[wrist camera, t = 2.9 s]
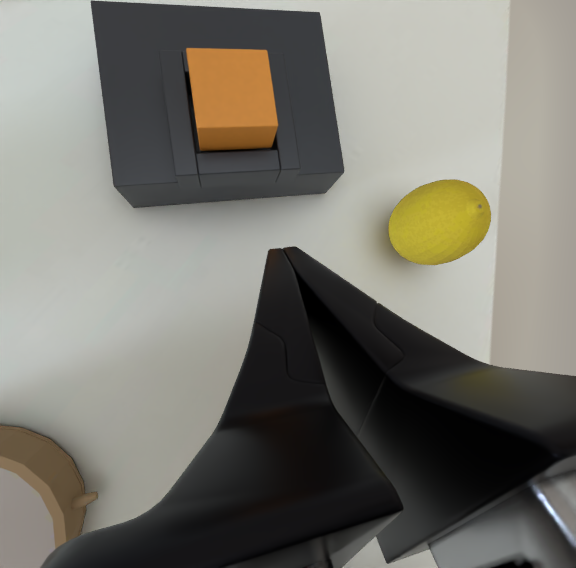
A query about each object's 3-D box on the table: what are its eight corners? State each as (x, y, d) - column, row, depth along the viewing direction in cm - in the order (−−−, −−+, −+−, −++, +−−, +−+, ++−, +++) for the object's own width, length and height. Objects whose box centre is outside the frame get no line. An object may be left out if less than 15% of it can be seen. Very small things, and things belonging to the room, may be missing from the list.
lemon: (415, 194, 26) (498, 146, 18) (441, 255, 26) (534, 234, 18) (359, 217, 25) (422, 177, 17) (387, 281, 25) (461, 270, 17)
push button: (326, 199, 24) (358, 165, 19) (134, 214, 21) (100, 180, 16) (305, 58, 25) (330, -19, 19) (113, 54, 22) (73, -38, 16)
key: (271, 148, 18) (278, 125, 16) (200, 151, 17) (196, 127, 15) (262, 81, 18) (267, 48, 16) (190, 81, 17) (185, 46, 15)
